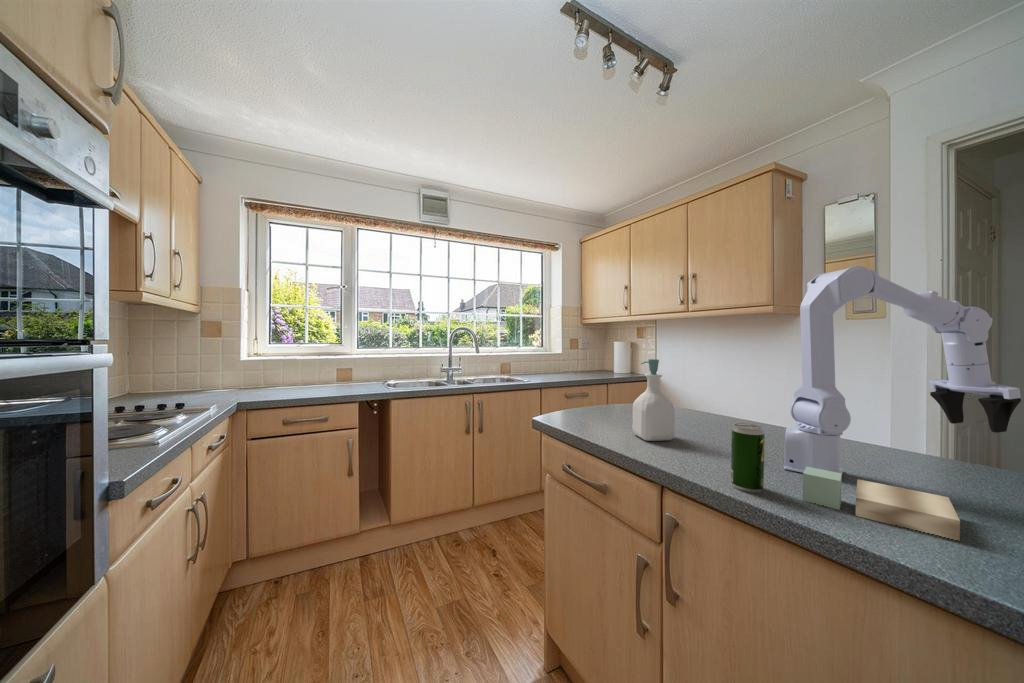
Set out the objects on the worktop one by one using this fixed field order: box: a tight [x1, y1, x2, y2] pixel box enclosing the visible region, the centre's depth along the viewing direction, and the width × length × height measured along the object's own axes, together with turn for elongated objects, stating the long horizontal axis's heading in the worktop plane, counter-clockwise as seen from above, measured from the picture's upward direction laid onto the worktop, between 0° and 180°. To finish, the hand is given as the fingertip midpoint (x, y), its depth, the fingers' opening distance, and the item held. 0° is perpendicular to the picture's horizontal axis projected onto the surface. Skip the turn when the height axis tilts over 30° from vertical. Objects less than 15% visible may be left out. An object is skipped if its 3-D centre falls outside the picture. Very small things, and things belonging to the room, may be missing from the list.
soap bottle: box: [631, 358, 676, 442], centre depth 107 cm, size 10×10×23 cm
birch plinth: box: [855, 478, 961, 542], centre depth 61 cm, size 11×11×3 cm
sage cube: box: [802, 467, 843, 511], centre depth 67 cm, size 5×5×5 cm
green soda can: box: [730, 422, 766, 494], centre depth 72 cm, size 5×5×12 cm
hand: (976, 427), depth 79 cm, fingers open, 7 cm apart
